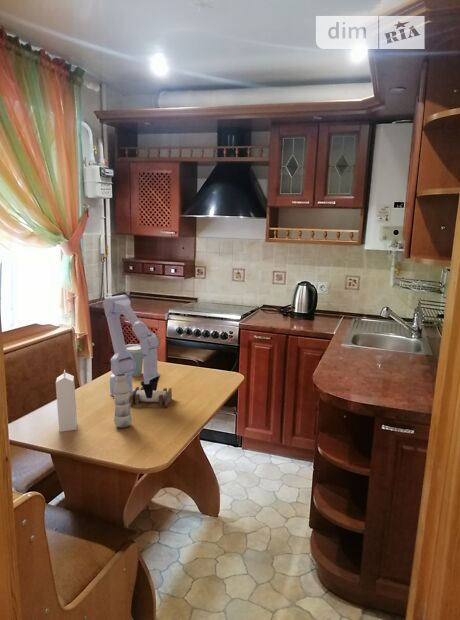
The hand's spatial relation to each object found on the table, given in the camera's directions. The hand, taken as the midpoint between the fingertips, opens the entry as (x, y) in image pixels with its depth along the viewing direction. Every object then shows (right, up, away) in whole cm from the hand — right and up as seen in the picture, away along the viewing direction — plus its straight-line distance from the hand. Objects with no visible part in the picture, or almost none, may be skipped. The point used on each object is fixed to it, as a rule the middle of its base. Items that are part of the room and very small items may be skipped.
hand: (151, 394), depth 190 cm
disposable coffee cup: (-15, +3, +36) cm, 39 cm away
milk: (-27, -8, -23) cm, 36 cm away
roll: (0, -3, 0) cm, 3 cm away
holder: (0, -4, +1) cm, 4 cm away
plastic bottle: (-7, -8, -21) cm, 24 cm away
